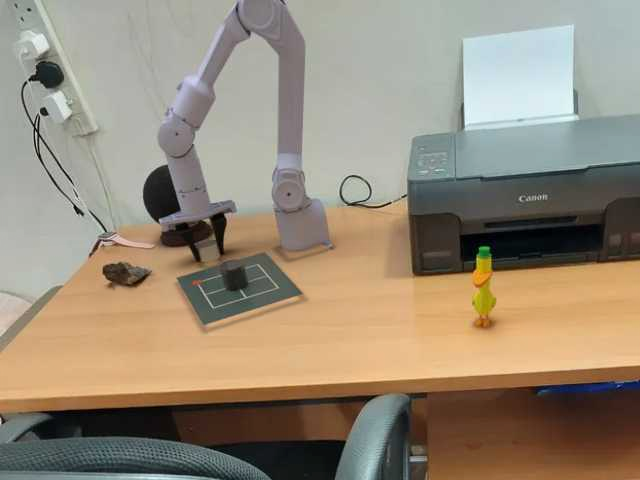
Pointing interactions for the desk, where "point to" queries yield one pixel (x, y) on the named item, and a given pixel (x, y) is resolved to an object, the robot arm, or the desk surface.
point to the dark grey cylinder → (234, 274)
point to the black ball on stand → (168, 207)
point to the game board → (221, 303)
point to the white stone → (208, 250)
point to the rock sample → (124, 272)
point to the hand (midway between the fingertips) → (209, 256)
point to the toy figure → (483, 286)
